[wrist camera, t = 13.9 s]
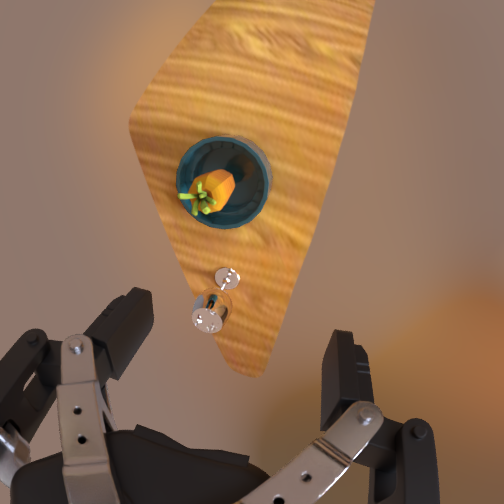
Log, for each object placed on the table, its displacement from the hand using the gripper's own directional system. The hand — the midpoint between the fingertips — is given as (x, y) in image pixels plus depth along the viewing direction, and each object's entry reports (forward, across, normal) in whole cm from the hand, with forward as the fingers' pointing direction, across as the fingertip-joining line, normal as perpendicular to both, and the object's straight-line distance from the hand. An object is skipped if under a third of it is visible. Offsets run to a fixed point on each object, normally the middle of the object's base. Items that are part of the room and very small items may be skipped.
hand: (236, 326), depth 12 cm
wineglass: (+34, +8, +20) cm, 40 cm away
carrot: (+34, +9, +2) cm, 35 cm away
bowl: (+34, +9, +2) cm, 35 cm away
